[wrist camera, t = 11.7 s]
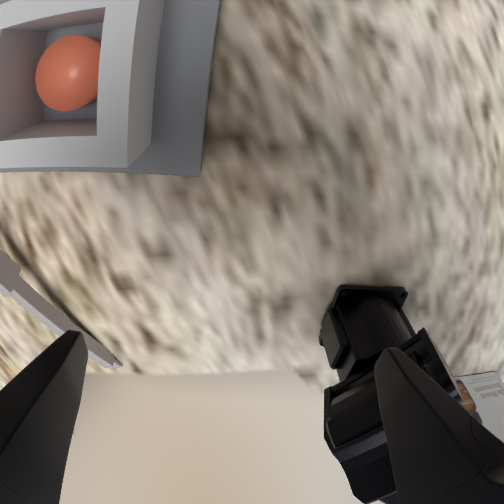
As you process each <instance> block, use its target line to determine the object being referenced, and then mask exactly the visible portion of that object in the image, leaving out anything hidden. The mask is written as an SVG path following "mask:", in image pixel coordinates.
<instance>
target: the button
mask: <svg viewBox="0 0 504 504" xmlns="http://www.w3.org/2000/svg"><path fill="white" fill-rule="evenodd" d="M100 49H101V40H100V39H97V38H93V37H87V36H79V35H70V36H65V37H63V38H60V39H58V40H57V41H55V42H54V43H52V44H51V45H50V46H49V47H48V48H47V49H46V51H45V52H44V53H43V55H42V57H41V58H40V61H39V63H38V66H37V70H36V77H35V81H36V88H37V92H38V94H39V96H40V98H41V99H42V101H43V102H44V103H45V104H46V105H47V106H49V107H50V108H52V109H54V110H57V111H71V110H74V109H77V108H80V107H83V106H86V105H89V104H91V103H93V102H95V101H97V94H98V75H99V61H100Z"/></svg>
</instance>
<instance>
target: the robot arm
mask: <svg viewBox="0 0 504 504" xmlns="http://www.w3.org/2000/svg"><path fill="white" fill-rule="evenodd" d="M343 291H345V292H344V293H342V292H343ZM402 293H403V294H402ZM407 295H408V292H407V291H406V289H405V288H392V287H369V286H348V285H343V286H340V287H339V288H338V290H337V292H336V295H335V298H334V300H333V303H332V306H331V308H330V309H329V310H328V311H327V314H326V317H325V320H324V322H323V325H322V328H321V330H320V333H321V335H320V337H319V343H320V345H321V346H324V347H325V350H326V354H327V357H328V361H329V365H330V367H331V368H332V369H337V373H338V376H339V380H340V382H339V383H338V384H336V385H334V386H330V387H328V388H326V389H324V439H325V441H326V442H327V444H328V447H329V449H330V450H331V452H332V454H333V455H334V456H335V457H336V458H337V459H338V461H339V462H340V464H341V466H342V468H343V469H344V471H345V473H346V476H347V478H348V481H349V484H350V486H351V489H352V492H353V494H354V496H355V497H356V498H358V499H359V500H360V501H361V502H362V503H364V504H369V503H371V502H374V501H377V500H380V501H381V502H383V503H385V504H504V442H502V441H501V440H500V439H498V438H497V437H496V436H495V435H494V434H492V433H491V432H490V431H489V430H487V429H486V428H485V427H484V426H483V425H482V424H481V423H480V422H479V421H477V420H476V419H475V418H474V417H473V416H472V415H470V413H469V412H468V411H467V410H466V409H465V408H463V407H462V406H461V405H460V403H461V402H463V398H462V396H461V393H460V391H459V388H458V386H457V384H456V381H455V379H454V377H453V375H452V373H451V371H450V369H449V367H448V365H447V363H446V362H445V360H444V358H443V356H442V354H441V353H440V351H439V349H438V348H437V346H436V345H435V343H434V342H433V340H432V339H431V337H430V336H429V334H428V333H427V331H426V330H425V328H424V327H423V328H422V329H421V330H419V331H418V333H417V334H416V333H415V332H414V330H413V328H412V326H411V324H410V322H409V321H408V319H407V317H406V315H405V314H404V312H403V310H402V306H403V304H404V302H405V300H406V297H407ZM87 360H88V349H87V346H86V342H85V339H84V336H83V333H82V332H81V331H77V330H71V329H70V330H67V331H66V332H65V333H64V334H62V335H61V336H60V337H59V338H58V339H57V340H55V341H54V342H53V343H52V344H51V345H50V346H49V347H47V348H46V349H45V350H44V351H43V352H42V353H41V354H40V355H38V356H37V357H36V358H35V359H34V360H33V361H32V362H31V363H30V364H28V365H27V366H26V367H25V368H24V369H23V370H22V371H21V372H20V373H19V374H18V375H16V376H15V377H14V378H13V379H12V380H11V381H10V382H9V383H8V384H7V385H6V386H5V387H4V388H3V389H1V390H0V504H59V500H60V494H61V488H62V482H63V477H64V471H65V466H66V461H67V456H68V451H69V446H70V443H71V438H72V434H73V430H74V426H75V421H76V417H77V414H78V410H79V405H80V401H81V396H82V389H83V383H84V377H85V371H86V365H87Z"/></svg>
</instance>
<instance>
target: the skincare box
mask: <svg viewBox="0 0 504 504" xmlns="http://www.w3.org/2000/svg"><path fill="white" fill-rule="evenodd" d="M454 379H455V381H456V384H457V386H458V388H459V391H460V393H461V396H462V398H463V402H461V403H460V405H461V406H462V407H463V408H465V409H466V410H467V411H468V412H469V413H470V415H472V416H473V417H474V418H475V419H476V420H477V421H479V422H480V423H481V424H482V425H483V426H484V427H485V428H486V429H487V430H489V431H490V432H491V433H492V434H494V435H495V436H496V437H497V438H498V439H500V440H501V441H502V442H504V383H503V382H502V380H501V379H500V377H499V375H498V374H497V372H496V371H495V372H489V373H483V374H476V375H469V376H462V377H454Z"/></svg>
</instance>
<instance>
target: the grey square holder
mask: <svg viewBox="0 0 504 504" xmlns="http://www.w3.org/2000/svg"><path fill="white" fill-rule="evenodd" d="M220 4H221V0H2V1H1V4H0V172H40V171H78V172H120V173H144V174H163V175H179V176H193V177H199V175H200V172H201V167H202V154H203V143H204V132H205V122H206V112H207V103H208V94H209V85H210V76H211V68H212V60H213V53H214V45H215V38H216V31H217V24H218V17H219V11H220ZM70 35H79V36H87V37H93V38H97V39H100V40H101V49H100V61H99V75H98V94H97V101H95V102H93V103H91V104H89V105H86V106H83V107H80V108H77V109H74V110H71V111H57V110H54V109H52V108H50V107H49V106H47V105H46V104H45V103H44V102H43V101H42V99H41V98H40V96H39V94H38V92H37V88H36V81H35V77H36V70H37V66H38V63H39V61H40V58H41V57H42V55H43V53H44V52H45V51H46V49H47V48H48V47H49V46H50V45H51V44H52V43H54V42H55V41H57V40H58V39H60V38H63V37H65V36H70Z"/></svg>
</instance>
